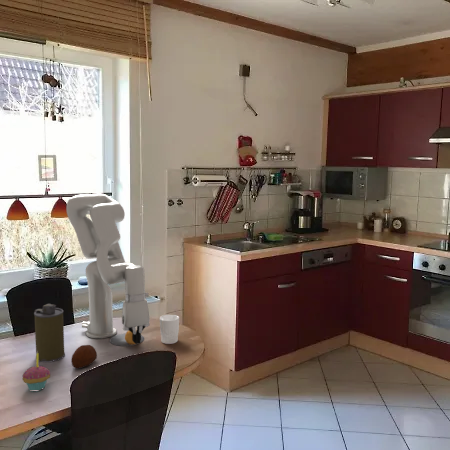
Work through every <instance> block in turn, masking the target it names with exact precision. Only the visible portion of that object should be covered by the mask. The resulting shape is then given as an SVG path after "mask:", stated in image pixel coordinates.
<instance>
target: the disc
mask: <svg viewBox="0 0 450 450" xmlns="http://www.w3.org/2000/svg"><path fill="white" fill-rule="evenodd" d="M126 333H127V332H126ZM126 333H119V334H115V335H113V336H111V337H110V339H109V343H110V344H112V345H114V346H118V347H131V346H136V345H139V344H141V343H143V342H144V341H145V336H144V335H142V334H141V340H140V343H138V344H134V345H131V344H128V343H127V342H126V340H125V334H126Z"/></svg>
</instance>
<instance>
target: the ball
mask: <svg viewBox="0 0 450 450" xmlns="http://www.w3.org/2000/svg"><path fill="white" fill-rule="evenodd" d="M136 331H137V329H136ZM125 340H126V342H127V343H128V344H131V345H132V346H135V345H134V344H136V343H134V342H133V340H132V332H131V331H126V334H125Z"/></svg>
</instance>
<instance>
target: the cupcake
mask: <svg viewBox="0 0 450 450" xmlns="http://www.w3.org/2000/svg"><path fill="white" fill-rule="evenodd" d="M35 359H36V360H35V361H36V365H35V366H31V367H29V368H27V369H26V370H25V371H24V372H23V374H22V381H23V383H24V384H26V385H27V389H28V390H29V391H30V390H40V389H42V388H44V389H45V387H46V383H47V381H48V380H49V379H50V378H51V372H50V369H49V368H48V367H46V366H43V365H42V366H41V365H39V362H40V361H39V353H38V351H37V354H36V353H35ZM40 391H41V390H40Z"/></svg>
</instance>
